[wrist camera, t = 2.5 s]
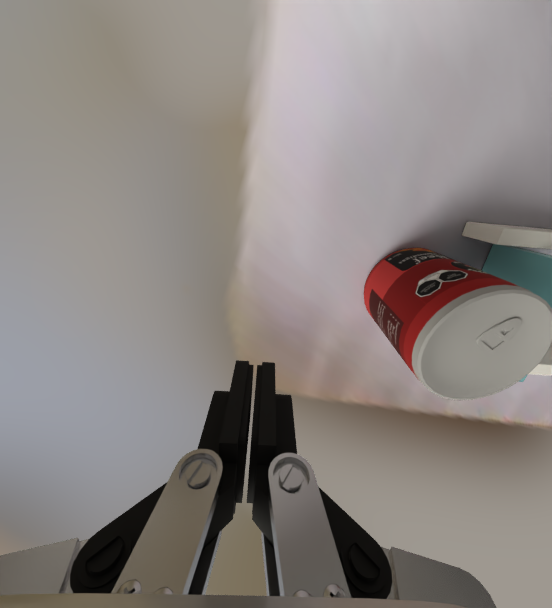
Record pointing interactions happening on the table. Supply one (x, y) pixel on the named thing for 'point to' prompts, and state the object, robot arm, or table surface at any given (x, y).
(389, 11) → the table surface
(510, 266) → the pusher
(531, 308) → the canned food
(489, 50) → the table surface
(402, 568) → the robot arm
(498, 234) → the lane
